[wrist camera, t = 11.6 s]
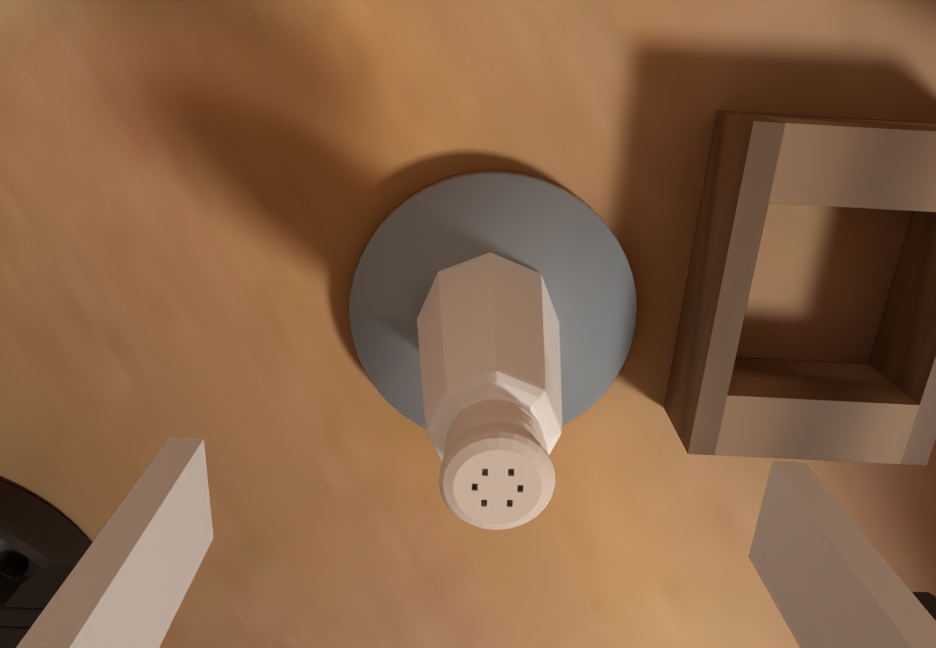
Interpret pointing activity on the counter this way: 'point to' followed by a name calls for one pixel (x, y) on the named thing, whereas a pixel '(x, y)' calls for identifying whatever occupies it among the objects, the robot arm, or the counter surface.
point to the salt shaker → (492, 389)
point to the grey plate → (514, 238)
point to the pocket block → (729, 281)
